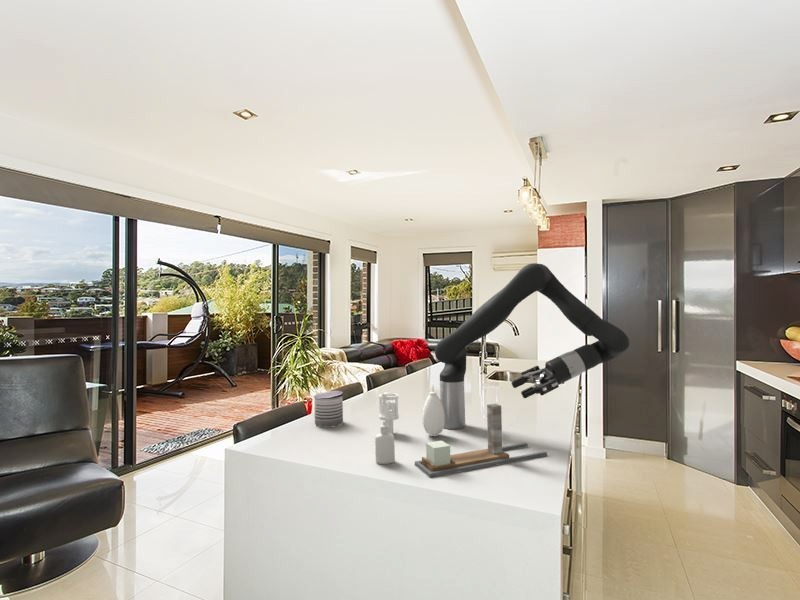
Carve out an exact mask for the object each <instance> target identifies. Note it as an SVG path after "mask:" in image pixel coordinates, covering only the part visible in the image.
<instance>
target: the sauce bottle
mask: <svg viewBox="0 0 800 600" xmlns="http://www.w3.org/2000/svg"><path fill="white" fill-rule="evenodd" d="M431 388H432V389H431V391H429V393H428V394H429V395H428V396H427V398H426V399H425V403H424V404H423V409H422V426H423V428H424V431H425V432H426V434H428V436H431V437H432V436H434V437H433V438H436V437H437V436H439V435H440V434H441V433H442V432H443V430H444V429H445V428H444V423H445V414H444V409H443V406H442V403H441V401H440V396H438V395H437V394H438V393H437V392H436V391H435V389H434V388H435V387H434V385H432V386H431ZM435 436H436V437H435Z"/></svg>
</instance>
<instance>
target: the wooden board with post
mask: <svg viewBox="0 0 800 600" xmlns="http://www.w3.org/2000/svg"><path fill="white" fill-rule="evenodd" d="M486 414H487V415H486V417H487V419H486V421H487V423H486V424H487V448H484V449H478V450H473V451H467V452H462V453H455V454H450V464H446V465H440V466H435V465H434V464H433V463H431V462H430V461H429V460H427V459H426V457H424V456H422V457H421V460H422V465H424V466H425V467H426V468H427V469H429V470H430V471H431V472H434V471H440V470H445V469H450V468H456V467H461V466H467V465H472V464H478V463H483V462H489V461H494V460H500V459H505V458H510V454H509V453H507V452H505V451H502V447H503V427H502V426H503V425H502V422H503V421H502V420H503V419H502V405H500V404H497V403H489V404H487V405H486Z"/></svg>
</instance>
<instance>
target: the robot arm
mask: <svg viewBox="0 0 800 600" xmlns="http://www.w3.org/2000/svg"><path fill="white" fill-rule="evenodd" d="M536 292H538V293H540V294H541V295H543V296H545V297H546V298H547V299H549V300H550V301H551V302H552V303H553V304H554V305H555V306H556V307H557V308H558V309H559V311H560V312H562V314H563V315H564V317H565V318H566V319H567V320H568V321H569V322H570V323H571V324H572V325H574V326H575V328H577V329H578V330H579V331H580V332H582V334H584V335H586V336H587V337H594V338H595V339H596V341H594V342H593V343H590V344H589V343H587V344H584V345H582V346H579V347H577V348H575V349H573V350H571V351H567V352H565V353H563V354H560V355H558V356H556V357H554V358H552V359H550V360H548V361H546V362H545V367H544V368H540V366H539V365H535V366H533V367H531V368H529V369H528V368H527V370H524V371H522V372H521V376H520V377H518V378H515V379H514V380H512V381H511V385H512V388H513V389H516V388H518V387H521V386H523V385H525V384H529V383H530V384H534V385H532V386H529V387H527V388H525V389H523V390H521V391H520V394H521V395H522V397H523V399H527V398H530V397H532V396H534V395H535V394H536V395H539V394H540V396H544V395H547V394H548V393H550V392H552V391H554V390H556V389H557V388H559V387H560V386H559V385H561V384H564V383H565V382H567V381H569V380H572V379H574V378H576V377H578V376H580V375H581V374H583V373H585V372H586V371H589V370H590V369H591V370H592V368H593V369H594V368H595V367H596V366H598V365H600V364H604V363H607V362H609V361H611V360H614V359H617V358H619V356H622V354H623V353H625V352H626V350H628V349H629V347H630V339H629V336H628V335H627V334H626V333H625V332H624V330H622V329H620V328H619V327H618V326H616V325H614V324H612V323H611V322H609V321H607V320H605V319H603V318H601V316H600V315H598V313H596V312H595V311H594V310H592V309H591V308H590V307H588V305H586V304H585V303H583V301H582V300H580V299H579V298H578V297H576V296H575V295H574V294H573V293H572V292H571V291H570V290H568V289H567V288H566V286H564V284H562V283H561V282H560V280H559V279H558V278H557V277H556V275H555V274H554V273H553V272H552V271H551V270H550V269H549V267H548V266H546V265H544V264H542V263H536V262H535V263H534V262H533V263H529V264H526V265H524V266H523V267H522V268H521V269H520V270H519V271H518V272H517V273H516V275H515V276H513V278H512V279H511V280H510V281H509V282H508V283H507V284H506V285H505V286H504V287H503V288H502V289H500V290H499V291H498V292H497V293H495V294H494V295H493V296H492V297H490V298H489V299H488V300H487V301H485V302H484V303H483V304H482V305H481V306H479V307H478V308H477V309H476V310H475V311H474V312H473V313H472V314H471V315H470V316H469V317H468V318H467V319H465V321H463V322H462V323H461V325H460V326H458V327H457V328H456V329H455V330H454V331H452V332H451V333H449V334H448V335H446V336H445V337H443V338H442V339H441V340H440V341H438V342H437V344H436V346H435V348H434V356H435V358H436V360H438V362H440V363H442V364H444V367H443V369H442V370H441V371H440V373H439V399H440V401H441V403H442V406H443V409H444V414H445V423H444V428H443V429H448V430H449V429H450V430H460V429H464V428H465V427H466V407H465V406H466V403H465V402H466V400H465V399H466V397H465V396H466V395H465V375H466V372H467V347H468V346H469V345H471V344H472V343H474V342H476V341H477V340H480V339H482V338H483V337H485V336H486V335H488V334H490V333H492V332H493V331H494V330H496V329H497V328H498V327H499V326H500V325H501V324H503V323H504V322H505V321H506V320H507V319H508V318H509V316H510V315H511V313H512V312H513V311H514V309H515V308H516V307H517V306H518V304H520V303H521V302H522V301H524V300H525V299H526V298H527V297H529V296H531V295H533V294H534V293H536Z"/></svg>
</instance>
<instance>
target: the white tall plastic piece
mask: <svg viewBox="0 0 800 600" xmlns="http://www.w3.org/2000/svg"><path fill="white" fill-rule="evenodd" d="M378 399H379V415H378V416H379V417H378V418H379V420H381V421H386V425H388V426H389V433H390V434H393V435H394V432H395V431H394V421H397V420H399V419H400V416H399V415H400V414H399V401H398V400H399V394H398V393H395V392H387V391H385V392H384V393H380V394H378Z"/></svg>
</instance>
